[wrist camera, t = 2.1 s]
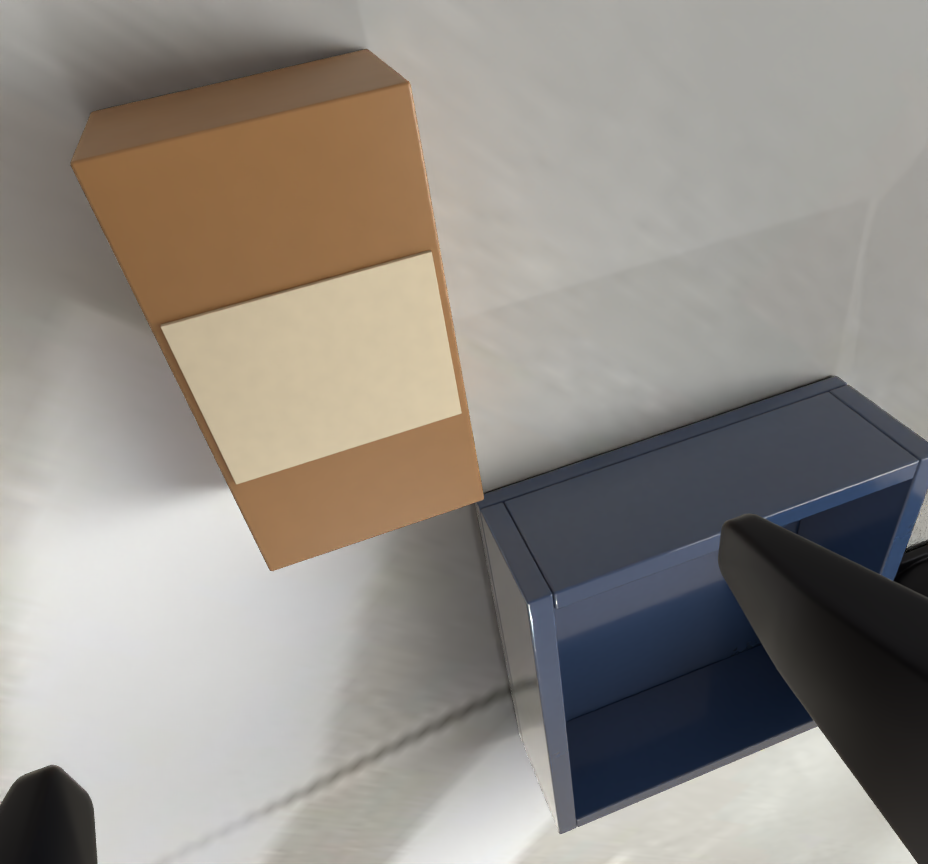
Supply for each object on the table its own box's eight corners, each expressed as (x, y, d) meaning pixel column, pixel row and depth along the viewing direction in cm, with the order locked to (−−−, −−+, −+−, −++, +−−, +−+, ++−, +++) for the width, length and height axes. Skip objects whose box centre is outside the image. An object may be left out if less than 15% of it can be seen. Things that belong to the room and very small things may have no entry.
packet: (368, 48, 15) (412, 82, 12) (445, 423, 21) (486, 502, 18) (90, 111, 14) (67, 164, 11) (258, 483, 20) (270, 575, 17)
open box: (836, 374, 25) (943, 451, 22) (776, 633, 35) (843, 716, 31) (473, 496, 23) (526, 603, 19) (519, 735, 33) (559, 835, 29)
